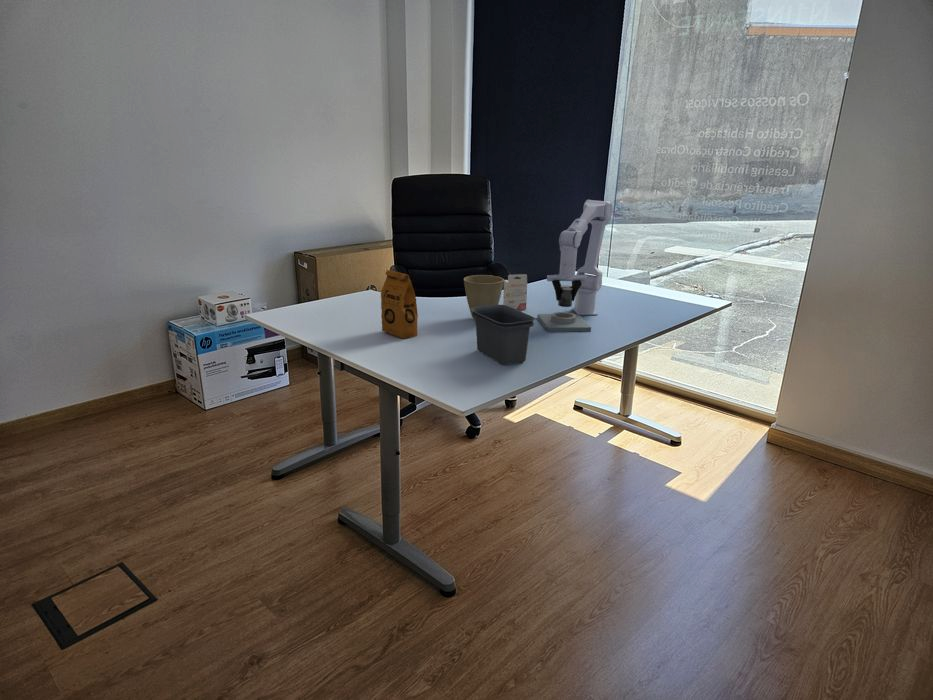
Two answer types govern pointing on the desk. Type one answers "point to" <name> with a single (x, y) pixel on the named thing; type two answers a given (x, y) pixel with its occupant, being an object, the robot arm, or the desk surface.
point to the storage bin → (502, 332)
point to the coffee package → (399, 306)
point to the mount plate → (563, 322)
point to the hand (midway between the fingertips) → (565, 300)
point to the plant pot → (483, 290)
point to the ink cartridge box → (515, 292)
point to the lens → (565, 296)
